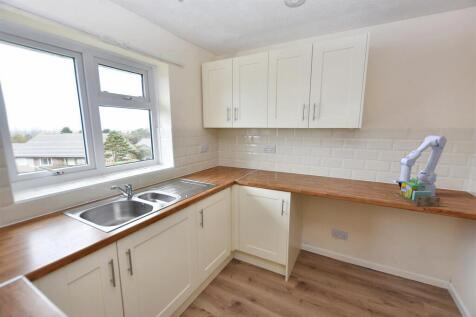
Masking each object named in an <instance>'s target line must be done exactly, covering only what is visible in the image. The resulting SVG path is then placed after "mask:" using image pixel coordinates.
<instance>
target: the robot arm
mask: <svg viewBox="0 0 476 317" xmlns="http://www.w3.org/2000/svg"><path fill="white" fill-rule="evenodd" d="M423 140H424V141H423V142H422V143H421V144H420V145H419V146H418V148H416V149H415V150H414V149H413V150H411V152H410V153H409V154H408V155H406V157H403V158H401V159H400V161H399V164H400V168H401V169H400V175H399V179H398V178H397V179H393V184H398V186H399V188H400V190H399V191H401V186H402V182H411V180H412V179H411V175H412V169H413V168H412V167H414V166H415V165H416V164H415V163H416V161H417V160H418V159H419V158H420V157H421V156H422V153H423V152H425V151H426V150H427V149H428V148H430V147H431V149H432V150H431V152H430V155H429V157H428V160H427V162H426V164H425V166H424V169H422V170H420V171H419V172H418V173H417V175H416V179H417V180H418V182H417V183H419V184H422V185H425V189H424V191H431V192H432V193H431V197H437V196H436V189H437V186H436V184H435V182H437V176H438V175H437V174H436V172H435V170H436V167H437V165H438V163H439V162H440V159H441V156H442V153H443V151H444V149H445V146H446V143H447V142H448V141H447V140H448V139H447V137H446V136H445V135H433V134H432V135H431V134H428V135H427V136H425V138H424V139H423ZM413 182H416V181H415V180H413Z"/></svg>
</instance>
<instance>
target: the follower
mask: <svg viewBox="0 0 476 317" xmlns="http://www.w3.org/2000/svg"><path fill="white" fill-rule="evenodd" d="M431 193H432V192H431V191H413V195H412V200H414V201H416V199H417V197H432V196H431Z"/></svg>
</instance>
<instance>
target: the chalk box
mask: <svg viewBox="0 0 476 317" xmlns="http://www.w3.org/2000/svg"><path fill="white" fill-rule="evenodd" d="M410 180H411V182H402V186H401V190H399V191H400V192H399V194H400V195H403V196H405V197H407V198H409V199H412V195H413V191H424V189H425V185H422V184H419V182H418V180H417V178H415V177H414V178H411V179H410ZM413 180H415V182H413Z"/></svg>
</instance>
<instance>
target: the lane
mask: <svg viewBox="0 0 476 317" xmlns="http://www.w3.org/2000/svg"><path fill="white" fill-rule="evenodd" d="M394 197H396V198H398V199H400V200H403V201H404V200H405V201H404V202H406V201H407V202H406V203H409V204H410V205H412V206H415V207H439V206H440V199H441V197H440V196H431V197H417V199H416V201H414V200H412V199H409V198H407V197H405V196H403V195H400V193H398V192H394Z"/></svg>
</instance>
